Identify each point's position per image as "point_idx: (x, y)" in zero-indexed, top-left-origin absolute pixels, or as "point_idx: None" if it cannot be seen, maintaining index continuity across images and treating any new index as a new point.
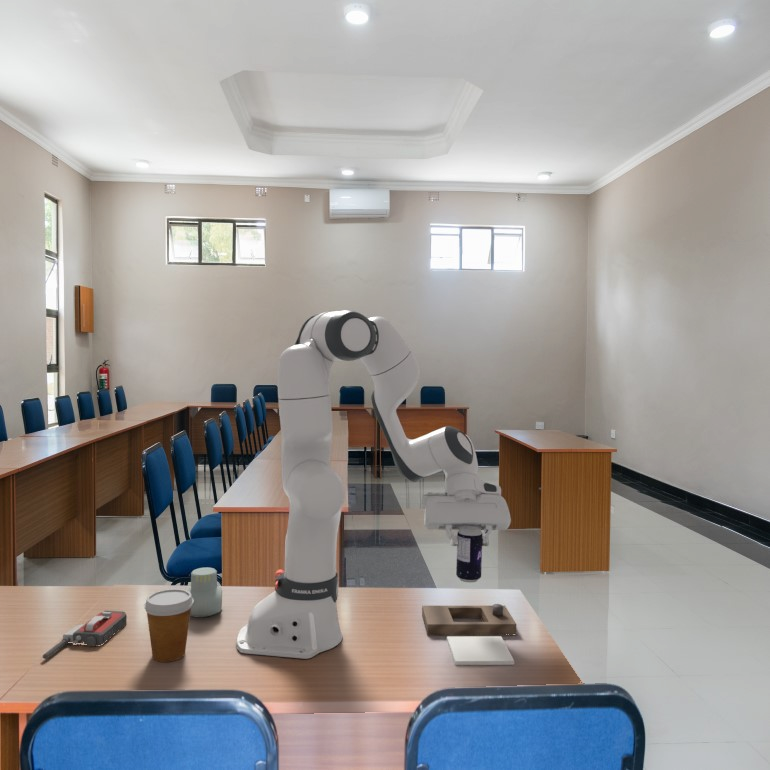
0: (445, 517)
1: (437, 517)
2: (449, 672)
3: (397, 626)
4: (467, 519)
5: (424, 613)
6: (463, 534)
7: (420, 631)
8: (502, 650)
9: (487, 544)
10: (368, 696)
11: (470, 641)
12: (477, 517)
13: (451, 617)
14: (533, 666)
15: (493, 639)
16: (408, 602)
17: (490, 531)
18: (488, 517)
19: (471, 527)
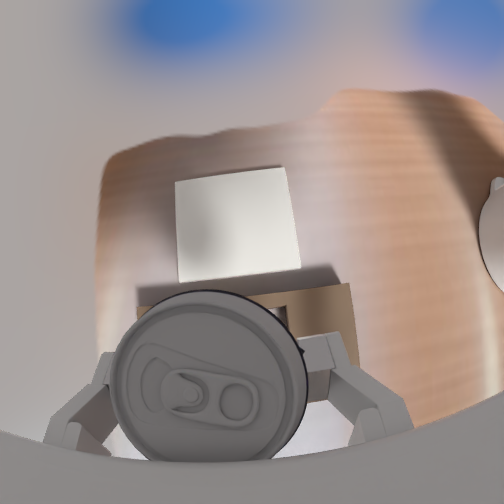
0: (443, 462)
1: (502, 432)
2: (294, 148)
3: (405, 322)
4: (209, 490)
5: (357, 345)
6: (265, 313)
7: (357, 305)
8: (187, 217)
9: None
10: (394, 95)
11: (249, 249)
12: (107, 500)
13: (290, 331)
14: (145, 185)
15: (197, 264)
16: None
17: (65, 405)
18: (29, 479)
19: (184, 414)
